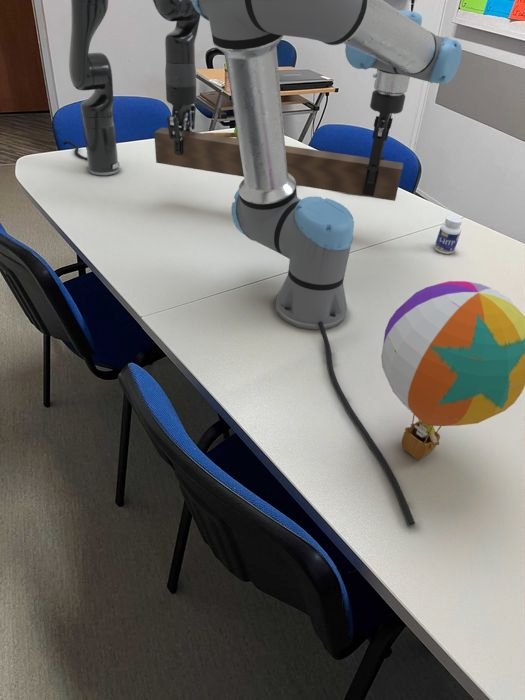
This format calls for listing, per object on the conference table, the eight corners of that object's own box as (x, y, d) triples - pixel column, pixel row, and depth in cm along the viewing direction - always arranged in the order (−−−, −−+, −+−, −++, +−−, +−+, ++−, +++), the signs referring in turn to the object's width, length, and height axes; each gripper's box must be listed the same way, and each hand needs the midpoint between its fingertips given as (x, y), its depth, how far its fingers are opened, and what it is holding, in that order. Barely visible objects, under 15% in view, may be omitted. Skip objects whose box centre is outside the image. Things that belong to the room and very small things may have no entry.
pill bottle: (433, 251, 139) (442, 220, 133) (435, 243, 143) (444, 213, 137) (453, 256, 138) (464, 225, 132) (454, 247, 142) (465, 217, 136)
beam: (396, 193, 134) (403, 162, 129) (394, 201, 130) (402, 169, 125) (163, 157, 145) (161, 127, 140) (156, 162, 141) (154, 132, 136)
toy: (330, 441, 84) (367, 281, 65) (404, 391, 94) (454, 241, 75) (431, 526, 73) (512, 363, 54) (502, 459, 83) (589, 303, 64)
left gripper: (178, 74, 135) (180, 141, 146) (154, 85, 124) (158, 157, 135) (205, 78, 134) (205, 145, 144) (184, 90, 123) (186, 161, 133)
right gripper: (376, 81, 126) (359, 176, 140) (368, 98, 112) (349, 201, 127) (408, 85, 124) (386, 180, 139) (403, 103, 111) (380, 206, 125)
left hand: (182, 150), depth 139 cm, fingers closed on beam, 5 cm apart
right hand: (369, 190), depth 133 cm, fingers closed on beam, 5 cm apart
